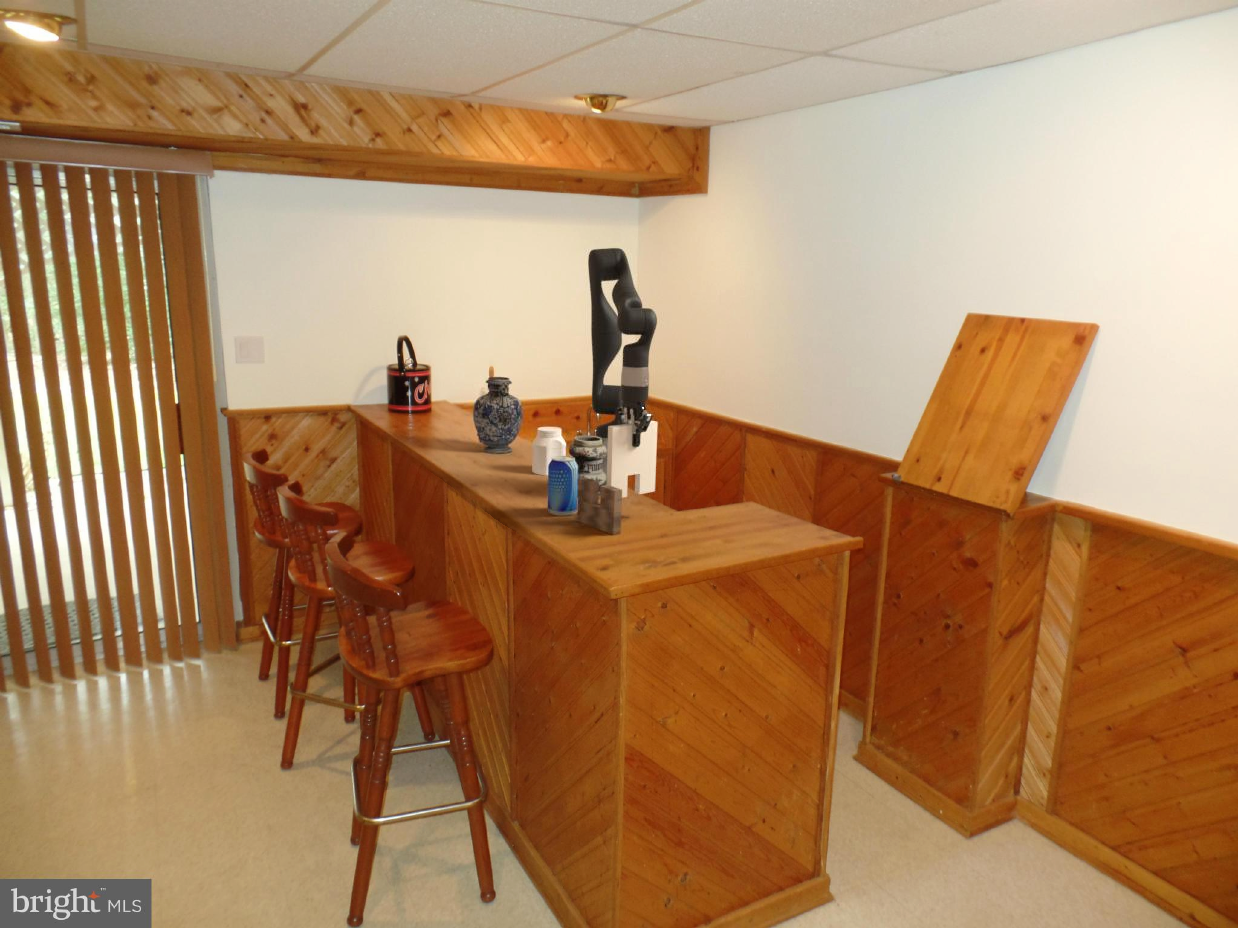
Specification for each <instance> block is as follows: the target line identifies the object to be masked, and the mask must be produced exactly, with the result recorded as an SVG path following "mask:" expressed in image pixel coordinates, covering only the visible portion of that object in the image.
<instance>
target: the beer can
mask: <svg viewBox="0 0 1238 928" xmlns="http://www.w3.org/2000/svg"><path fill="white" fill-rule="evenodd" d="M577 491H578V465H577V463H576V461H575V458H574V457H572V456H571V455H566V456H554V457H552V460H551V462H550V463H549V465H548V475H547V510H548V511H549V513H550V514H551V515H554V516H563V517H566V516H571V515H574V514H575V512H576V511H577V510H578V498H577Z"/></svg>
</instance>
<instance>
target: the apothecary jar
mask: <svg viewBox="0 0 1238 928" xmlns="http://www.w3.org/2000/svg"><path fill="white" fill-rule="evenodd" d="M573 439H574V441H573V443H572V444H571V445H569V448H568V454H569V456H572V457H574V458H575V461H576V463H577V465H578V479H579V478H585V477H586V478H589V479H592V480H595V481H598V482H599V486H600V485H602V484H603V483H604V482H605V481H606V475H605V473H604V472H603V457H604V456H605V455H606V454H607V449H606V447H605V446H604V445H603V443H602V439H601V438H600V437H596V435H578V436H575V437H574V438H573ZM600 492H601V491H599V496H598V498H600ZM577 499H578V491H577Z"/></svg>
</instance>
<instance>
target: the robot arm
mask: <svg viewBox="0 0 1238 928" xmlns="http://www.w3.org/2000/svg"><path fill="white" fill-rule="evenodd" d="M587 262H588V263H587V264H588V279H589V290H590V300H591V301H590V305H591V308H590V311H591V312H590V313H591V314H590V315H591V320H590V321H591V322H590V323H591V325H590V326H591V329H590V330H591V331H590V333H591V352H592V380H591V381H592V384H591V385H592V387H591V406H592V410H593V412H594V413H595V414H599V415H610V416H611V415H612V416H614V418H613V420H611V421H609V422H606V423H604V424H600V425H598V426H596V428H595V436H596V437H600V438H601V439H602V443H603V445H604V446H605V447H606V449H607V451H608V426H614V425H622V424H631V425H632V426H633V434H632V447H639V445H640V437H641V433H642V432H646V431H647V429H648V426H649V424H650V422H651V421H653V420H652V419H653V417H654V416H653V413H649V412H648V411H647V406H646V403H647V401H648V400H649V392H650V391H649V387H650V386H649V384H650V371H649V361H650V349H651V345H652V342H653V337H654V334H655V332H656V328H657V324H658V318H657V314H656V312H655V311H654V310H653V309H652V308H647V307H646V308H645V307H644V308H643V302H642V300H641V297H640V296H639V293H638V291H637V290H636V287H635V284H634V281H633V277H632V273H631V268H630V265H629V261H628V257H627V254H626V253H625V251H624V250H623V249H622V248H618V247H612V248H611V247H609V248H596V249H595V248H594V249H591V250H590V252H589V254H588V261H587ZM611 281H616V283H614V286H613V288H612V291H611V298H612V302H613V304H614V306H615V309H616V311H615V310H614V308H613V307H612V306H611V304H610V303H609V301H608V300H607V298H606V295H605V293H604V291H603V290H604V289H603V286H602V282H611ZM616 312H617V313H616ZM623 335H626V336H633V335H634V336H640V337H639V339H638V340H637V341H634V342H632V343H627V344H625V345H624V346H623V349H622V368H621V374H620V385H617V384H616V385H612V384H604V380H605V376H606V373H607V372H608V369H609V367H610V365H611V364H612V363H613V361H614V360H615V359H616V357H617V355H619V353H620V350H621V348H622V344H623V340H622V339H623ZM637 425H638V428H637ZM603 472H604V473H605V475H606V481H605V482H604V483H603V484H602V485H600V486H599V492H601V486H605V485H607V454H606V455H605V456H604V457H603Z"/></svg>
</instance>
